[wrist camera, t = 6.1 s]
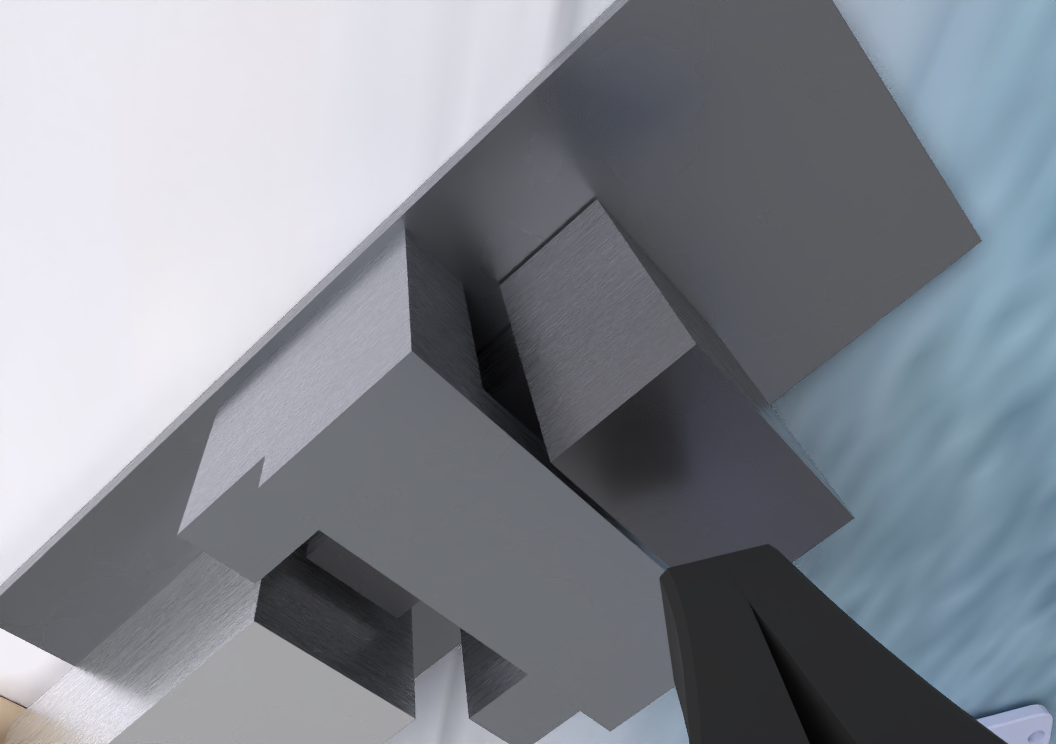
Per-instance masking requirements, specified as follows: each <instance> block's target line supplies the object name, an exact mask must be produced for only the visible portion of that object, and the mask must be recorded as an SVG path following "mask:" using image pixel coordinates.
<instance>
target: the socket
mask: <svg viewBox="0 0 1056 744" xmlns="http://www.w3.org/2000/svg"><path fill="white" fill-rule="evenodd" d="M595 200H598V201H599V202H600V203H601V204H602V205H603V206H604V208H605V209H606V210H607V211H608V212H609V213H610V214H611V215H612V217H613V218H614V219H615V220H616V221H617V222H618V223H619V224H620V226H621V227H622V228H623V229H624V230H625V231H626V232H627V233H628V235H629V236H630V237H631V238H632V239H633V240H634V241H635V242H636V244H637V245H638V246H639V247H640V248H641V249H642V250H643V252H644V253H645V254H646V255H647V256H648V257H649V258H650V259H651V261H652V262H653V263H654V264H655V265H656V266H657V267H658V268H659V270H660V271H661V272H662V273H663V274H664V275H665V276H666V277H667V279H668V280H669V281H670V282H671V283H672V284H673V285H674V286H675V288H676V289H677V290H678V291H679V292H680V293H681V294H682V296H683V297H684V298H685V299H686V300H687V301H688V302H689V303H690V305H691V306H692V307H693V308H694V309H695V310H696V311H697V312H698V314H699V315H700V316H701V317H702V318H703V319H704V320H705V321H706V323H707V324H708V325H709V326H710V327H711V328H712V329H713V330H714V332H715V333H716V334H717V335H718V336H719V337H720V339H721V340H722V341H723V343H724V344H725V345H726V347H727V348H728V349H729V351H730V352H731V353H732V355H733V356H734V357H735V359H736V360H737V361H738V363H739V364H740V365H741V367H742V368H743V369H744V371H745V372H746V373H747V375H748V376H749V377H750V379H751V380H752V381H753V383H754V384H755V385H756V387H757V388H758V389H759V391H760V392H761V393H762V395H763V396H764V397H765V399H766V400H767V401H768V403H769V404H771V403H772V402H774V401H775V400H776V399H778V398H779V397H780V396H781V395H783V394H784V393H785V392H787V391H788V390H789V389H791V388H792V387H793V386H794V385H796V384H797V383H798V382H800V381H801V380H802V379H803V378H805V377H806V376H807V375H809V374H810V373H811V372H813V371H814V370H815V369H816V368H818V367H819V366H820V365H822V364H823V363H824V362H826V361H827V360H828V359H829V358H831V357H832V356H833V355H835V354H836V353H837V352H839V351H840V350H841V349H842V348H844V347H845V346H846V345H848V344H849V343H850V342H851V341H853V340H854V339H855V338H857V337H858V336H859V335H861V334H862V333H863V332H864V331H866V330H867V329H868V328H870V327H871V326H872V325H874V324H875V323H876V322H877V321H879V320H880V319H881V318H883V317H884V316H885V315H887V314H888V313H889V312H890V311H892V310H893V309H894V308H896V307H897V306H898V305H899V304H901V303H902V302H903V301H905V300H906V299H907V298H909V297H910V296H911V295H912V294H914V293H915V292H916V291H918V290H919V289H920V288H922V287H923V286H924V285H925V284H927V283H928V282H929V281H931V280H932V279H933V278H934V277H936V276H937V275H938V274H940V273H941V272H942V271H944V270H945V269H946V268H947V267H949V266H950V265H951V264H953V263H954V262H955V261H957V260H958V259H959V258H960V257H962V256H963V255H964V254H966V253H967V252H968V251H970V250H971V249H972V248H973V247H975V246H976V245H977V244H979V243H980V242H981V239H980V237H979V236H978V234H977V233H976V231H975V229H974V228H973V226H972V224H971V223H970V221H969V220H968V218H967V216H966V215H965V213H964V212H963V210H962V208H961V207H960V205H959V204H958V202H957V200H956V199H955V197H954V196H953V194H952V192H951V191H950V189H949V187H948V186H947V184H946V183H945V181H944V179H943V178H942V176H941V175H940V173H939V171H938V170H937V168H936V167H935V165H934V163H933V162H932V160H931V159H930V157H929V155H928V154H927V152H926V150H925V149H924V147H923V146H922V144H921V142H920V141H919V139H918V138H917V136H916V134H915V133H914V131H913V130H912V128H911V126H910V125H909V123H908V122H907V120H906V118H905V117H904V115H903V113H902V112H901V110H900V109H899V107H898V105H897V104H896V102H895V101H894V99H893V97H892V96H891V94H890V93H889V91H888V89H887V88H886V86H885V85H884V83H883V81H882V80H881V78H880V77H879V75H878V73H877V72H876V70H875V68H874V67H873V65H872V64H871V62H870V60H869V59H868V57H867V56H866V54H865V52H864V51H863V49H862V48H861V46H860V44H859V43H858V41H857V40H856V38H855V36H854V35H853V33H852V31H851V30H850V28H849V27H848V25H847V23H846V22H845V20H844V19H843V17H842V15H841V14H840V12H839V11H838V9H837V7H836V6H835V4H834V3H833V1H832V0H616V1H615V2H614V3H613V4H612V5H611V6H610V7H609V8H608V9H607V10H606V11H604V12H603V13H602V14H601V15H600V16H599V17H598V18H597V19H596V20H595V21H594V22H593V23H592V24H591V25H590V26H589V27H588V28H587V29H586V30H585V31H583V32H582V33H581V34H580V35H579V36H578V37H577V38H576V39H575V40H574V41H573V42H572V43H571V44H570V45H569V46H568V47H567V48H566V49H565V50H563V51H562V52H561V53H560V54H559V55H558V56H557V57H556V58H555V59H554V60H553V61H552V62H551V63H550V64H549V65H548V66H547V67H546V68H545V69H544V70H542V71H541V72H540V73H539V74H538V75H537V76H536V77H535V78H534V79H533V80H532V81H531V82H530V83H529V84H528V85H527V86H526V87H525V88H524V89H523V90H521V91H520V92H519V93H518V94H517V95H516V96H515V97H514V98H513V99H512V100H511V101H510V102H509V103H508V104H507V105H506V106H505V107H504V108H503V109H501V110H500V111H499V112H498V113H497V114H496V115H495V116H494V117H493V118H492V119H491V120H490V121H489V122H488V123H487V124H486V125H485V126H484V127H483V128H482V129H480V130H479V131H478V132H477V133H476V134H475V135H474V136H473V137H472V138H471V139H470V140H469V141H468V142H467V143H466V144H465V145H464V146H463V147H462V148H460V149H459V150H458V151H457V152H456V153H455V154H454V155H453V156H452V157H451V158H450V159H449V160H448V161H447V162H446V163H445V164H444V165H443V166H442V167H441V168H439V169H438V170H437V171H436V172H435V173H434V174H433V175H432V176H431V177H430V178H429V179H428V180H427V181H426V182H425V183H424V184H423V185H422V186H421V187H420V188H418V189H417V190H416V191H415V192H414V193H413V194H412V195H411V196H410V197H409V198H408V199H407V200H406V201H405V202H404V203H403V204H402V205H401V206H400V207H398V208H397V209H396V210H395V211H394V212H393V213H392V214H391V215H390V216H389V217H388V218H387V219H386V220H385V221H384V222H383V223H382V224H381V225H380V226H379V227H377V228H376V229H375V230H374V231H373V232H372V233H371V234H370V235H369V236H368V237H367V238H366V239H365V240H364V241H363V242H362V243H361V244H360V245H359V246H357V247H356V248H355V249H354V250H353V251H352V252H351V253H350V254H349V255H348V256H347V257H346V258H345V259H344V260H343V261H342V262H341V263H340V264H339V265H338V266H336V267H335V268H334V269H333V270H332V271H331V272H330V273H329V274H328V275H327V276H326V277H325V278H324V279H323V280H322V281H321V282H320V283H319V284H318V285H317V286H315V287H314V288H313V289H312V290H311V291H310V292H309V293H308V294H307V295H306V296H305V297H304V298H303V299H302V300H301V301H300V302H299V303H298V304H297V305H295V306H294V307H293V308H292V309H291V310H290V311H289V312H288V313H287V314H286V315H285V316H284V317H283V318H282V319H281V320H280V321H279V322H278V323H277V324H276V325H274V326H273V327H272V328H271V329H270V330H269V331H268V332H267V333H266V334H265V335H264V336H263V337H262V338H261V339H260V340H259V341H258V342H257V343H256V344H254V345H253V346H252V347H251V348H250V349H249V350H248V351H247V352H246V353H245V354H244V355H243V356H242V357H241V358H240V359H239V360H238V361H237V362H236V363H235V364H233V365H232V366H231V367H230V368H229V369H228V370H227V371H226V372H225V373H224V374H223V375H222V376H221V377H220V378H219V379H218V380H217V381H216V382H215V383H214V384H212V385H211V386H210V387H209V388H208V389H207V390H206V391H205V392H204V393H203V394H202V395H201V396H200V397H199V398H198V399H197V400H196V401H195V402H194V403H192V404H191V405H190V406H189V407H188V408H187V409H186V410H185V411H184V412H183V413H182V414H181V415H180V416H179V417H178V418H177V419H176V420H175V421H174V422H173V423H171V424H170V425H169V426H168V427H167V428H166V429H165V430H164V431H163V432H162V433H161V434H160V435H159V436H158V437H157V438H156V439H155V440H154V441H153V442H151V443H150V444H149V445H148V446H147V447H146V448H145V449H144V450H143V451H142V452H141V453H140V454H139V455H138V456H137V457H136V458H135V459H134V460H133V461H132V462H130V463H129V464H128V465H127V466H126V467H125V468H124V469H123V470H122V471H121V472H120V473H119V474H118V475H117V476H116V477H115V478H114V479H113V480H112V481H111V482H109V483H108V484H107V485H106V486H105V487H104V488H103V489H102V490H101V491H100V492H99V493H98V494H97V495H96V496H95V497H94V498H93V499H92V500H91V501H89V502H88V503H87V504H86V505H85V506H84V507H83V508H82V509H81V510H80V511H79V512H78V513H77V514H76V515H75V516H74V517H73V518H72V519H71V520H70V521H68V522H67V523H66V524H65V525H64V526H63V527H62V528H61V529H60V530H59V531H58V532H57V533H56V534H55V535H54V536H53V537H52V538H51V539H50V540H48V541H47V542H46V543H45V544H44V545H43V546H42V547H41V548H40V549H39V550H38V551H37V552H36V553H35V554H34V555H33V556H32V557H31V558H30V559H29V560H27V561H26V562H25V563H24V564H23V565H22V566H21V567H20V568H19V569H18V570H17V571H16V572H15V573H14V574H13V575H12V576H11V577H10V578H9V579H8V580H6V581H5V582H4V583H3V584H2V585H1V586H0V628H2V629H4V630H6V631H8V632H9V633H11V634H13V635H15V636H17V637H19V638H21V639H23V640H25V641H27V642H29V643H31V644H33V645H35V646H37V647H39V648H40V649H42V650H44V651H46V652H48V653H50V654H52V655H54V656H56V657H58V658H60V659H62V660H64V661H66V662H68V663H70V664H72V665H73V666H76V665H77V664H78V663H79V662H80V661H82V660H83V659H84V658H85V657H86V656H87V655H88V654H89V653H91V652H92V651H93V650H94V649H95V648H96V647H97V646H99V645H100V644H101V643H102V642H103V641H104V640H105V639H106V638H108V637H109V636H110V635H111V634H112V633H113V632H114V631H115V630H117V629H118V628H119V627H120V626H121V625H122V624H123V623H124V622H126V621H127V620H128V619H129V618H130V617H131V616H132V615H133V614H135V613H136V612H137V611H138V610H139V609H140V608H141V607H142V606H144V605H145V604H146V603H147V602H148V601H149V600H150V599H151V598H153V597H154V596H155V595H156V594H157V593H158V592H159V591H160V590H162V589H163V588H164V587H165V586H166V585H167V584H168V583H170V582H171V581H172V580H173V579H174V578H175V577H176V576H177V575H179V574H180V573H181V572H182V571H183V570H184V569H185V568H186V567H188V566H189V565H190V564H191V563H192V562H193V561H194V560H195V559H197V558H198V557H199V556H200V555H201V554H202V553H203V552H205V553H206V554H208V555H210V556H211V557H213V558H214V559H216V560H218V561H219V562H221V563H222V564H224V565H226V566H227V567H229V568H230V569H232V570H233V571H235V572H237V573H238V574H240V575H241V576H243V577H245V578H246V579H248V580H249V581H251V582H253V583H254V584H256V583H257V582H259V581H260V580H261V579H262V578H263V577H264V576H266V575H267V574H268V573H269V572H270V571H271V570H273V569H274V568H275V567H276V566H277V565H278V564H280V563H281V562H282V561H283V560H284V559H285V558H287V557H288V556H289V555H290V554H291V553H292V552H294V551H295V550H296V549H297V548H298V547H299V546H301V545H302V544H303V543H304V542H305V541H306V540H308V539H309V538H310V537H311V536H312V535H313V534H315V533H316V532H317V531H318V530H320V531H321V532H323V533H324V534H326V535H327V536H329V537H330V538H332V539H333V540H334V541H336V542H337V543H339V544H340V545H342V546H343V547H345V548H346V549H347V550H349V551H350V552H352V553H353V554H355V555H356V556H358V557H359V558H360V559H362V560H363V561H365V562H366V563H368V564H369V565H371V566H372V567H373V568H375V569H376V570H378V571H379V572H381V573H382V574H384V575H385V576H386V577H388V578H389V579H391V580H392V581H394V582H395V583H397V584H398V585H399V586H401V587H402V588H404V589H405V590H407V591H408V592H410V593H411V594H412V595H414V596H415V597H417V598H418V599H420V601H419V602H418V603H417V604H415V605H414V606H413V607H412V635H413V663H414V678H416V677H417V676H418V675H420V674H421V673H422V672H423V671H425V670H426V669H427V668H429V667H430V666H431V665H433V664H434V663H435V662H436V661H438V660H439V659H440V658H442V657H443V656H444V655H446V654H447V653H448V652H449V651H451V650H452V649H453V648H455V647H456V646H457V645H459V644H460V643H461V642H462V652H463V662H464V672H465V682H466V692H467V702H468V712H469V719H470V720H472V721H474V722H475V723H477V724H478V725H480V726H482V727H483V728H485V729H486V730H488V731H490V732H491V733H493V734H494V735H496V736H498V737H499V738H501V739H502V740H504V741H505V742H507V743H509V744H534V743H535V742H537V741H538V740H540V739H541V738H542V737H544V736H545V735H547V734H548V733H549V732H551V731H552V730H554V729H555V728H556V727H558V726H559V725H561V724H562V723H563V722H565V721H566V720H568V719H569V718H570V717H572V716H573V715H575V714H576V713H577V712H579V711H581V712H583V713H584V714H586V715H587V716H589V717H590V718H591V719H593V720H594V721H596V722H597V723H599V724H600V725H602V726H603V727H604V728H606V729H607V730H609V731H612V730H613V729H615V728H616V727H617V726H619V725H620V724H622V723H623V722H625V721H626V720H627V719H629V718H630V717H632V716H633V715H635V714H636V713H637V712H639V711H640V710H642V709H643V708H645V707H646V706H647V705H649V704H650V703H652V702H653V701H654V700H656V699H657V698H659V697H660V696H662V695H663V694H664V693H666V692H667V691H669V690H670V689H672V688H673V687H674V686H675V683H674V678H673V671H672V664H671V657H670V650H669V643H668V636H667V629H666V622H665V615H664V608H663V601H662V594H661V587H660V580H659V577H660V576H661V575H662V574H663V573H664V571H665V570H666V569H667V568H670V567H669V566H668V565H667V564H666V563H665V562H664V561H663V560H661V559H660V558H659V557H658V556H657V555H656V554H655V553H653V552H652V551H651V550H650V549H649V548H648V547H647V546H645V545H644V544H643V543H642V542H641V541H640V540H639V539H637V538H636V537H635V536H634V535H633V534H632V533H631V532H629V531H628V530H627V529H626V528H625V527H624V526H623V525H621V524H620V523H619V522H618V521H617V520H616V519H615V518H613V517H612V516H611V515H610V514H609V513H608V512H607V511H605V510H604V509H603V508H602V507H601V506H600V505H599V504H597V503H596V502H595V501H594V500H593V499H592V498H591V497H589V496H588V495H587V494H586V493H585V492H584V491H583V490H581V489H580V488H579V487H578V486H577V485H576V484H575V483H573V482H572V481H571V480H570V479H569V478H568V477H567V476H565V475H564V474H563V473H562V472H561V471H560V470H559V469H557V468H556V467H555V466H554V465H553V464H552V463H551V462H550V459H549V456H548V452H547V449H546V445H545V444H544V443H543V442H542V441H541V440H540V439H539V438H538V437H537V436H535V435H534V434H533V433H532V432H531V431H530V430H529V429H528V428H526V427H525V426H524V425H523V424H522V423H521V422H520V421H518V420H517V419H516V418H515V417H514V416H513V415H512V414H511V413H509V412H508V411H507V410H506V409H505V408H504V407H503V406H502V405H500V404H499V403H498V402H497V401H496V400H495V399H494V398H493V397H491V396H490V395H489V394H488V393H487V392H486V391H485V390H483V386H482V381H481V376H480V371H479V365H478V360H477V357H478V356H479V355H480V354H481V353H482V352H483V351H484V350H486V349H487V348H488V347H489V346H490V345H491V344H493V343H494V342H495V341H496V340H497V339H498V338H499V337H501V336H502V335H503V334H504V333H505V332H506V331H507V330H509V329H510V328H511V323H510V320H509V316H508V313H507V309H506V306H505V302H504V299H503V295H502V292H501V289H500V285H501V284H502V283H503V282H504V281H505V280H507V279H508V278H509V277H510V276H511V275H512V274H513V273H514V272H516V271H517V270H518V269H519V268H520V267H521V266H522V265H523V264H525V263H526V262H527V261H528V260H529V259H530V258H531V257H532V256H534V255H535V254H536V253H537V252H538V251H539V250H540V249H541V248H543V247H544V246H545V245H546V244H547V243H548V242H549V241H550V240H552V239H553V238H554V237H555V236H556V235H557V234H558V233H559V232H561V231H562V230H563V229H564V228H565V227H566V226H567V225H568V224H570V223H571V222H572V221H573V220H574V219H575V218H576V217H577V216H579V215H580V214H581V213H582V212H583V211H584V210H585V209H586V208H588V207H589V206H590V205H591V204H592V203H593V202H594V201H595Z"/></svg>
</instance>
